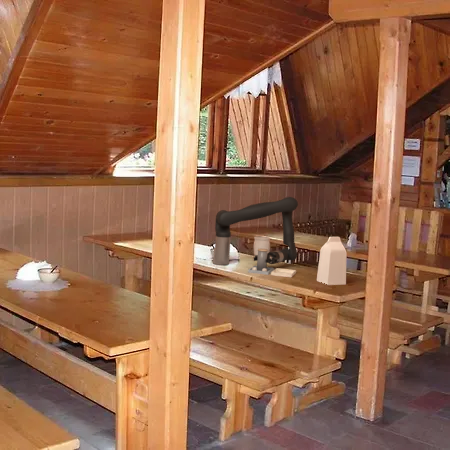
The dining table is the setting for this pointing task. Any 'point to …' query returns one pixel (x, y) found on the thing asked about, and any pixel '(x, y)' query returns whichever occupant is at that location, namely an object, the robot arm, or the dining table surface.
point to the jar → (261, 243)
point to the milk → (332, 263)
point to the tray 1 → (261, 271)
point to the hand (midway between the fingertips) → (260, 260)
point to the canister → (261, 259)
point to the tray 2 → (283, 272)
